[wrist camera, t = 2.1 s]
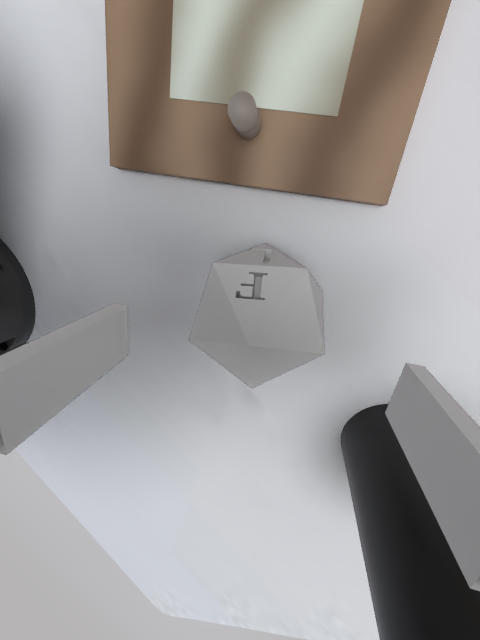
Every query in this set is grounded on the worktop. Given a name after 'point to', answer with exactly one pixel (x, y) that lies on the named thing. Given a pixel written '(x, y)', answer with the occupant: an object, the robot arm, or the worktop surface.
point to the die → (260, 315)
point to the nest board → (269, 90)
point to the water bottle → (403, 540)
